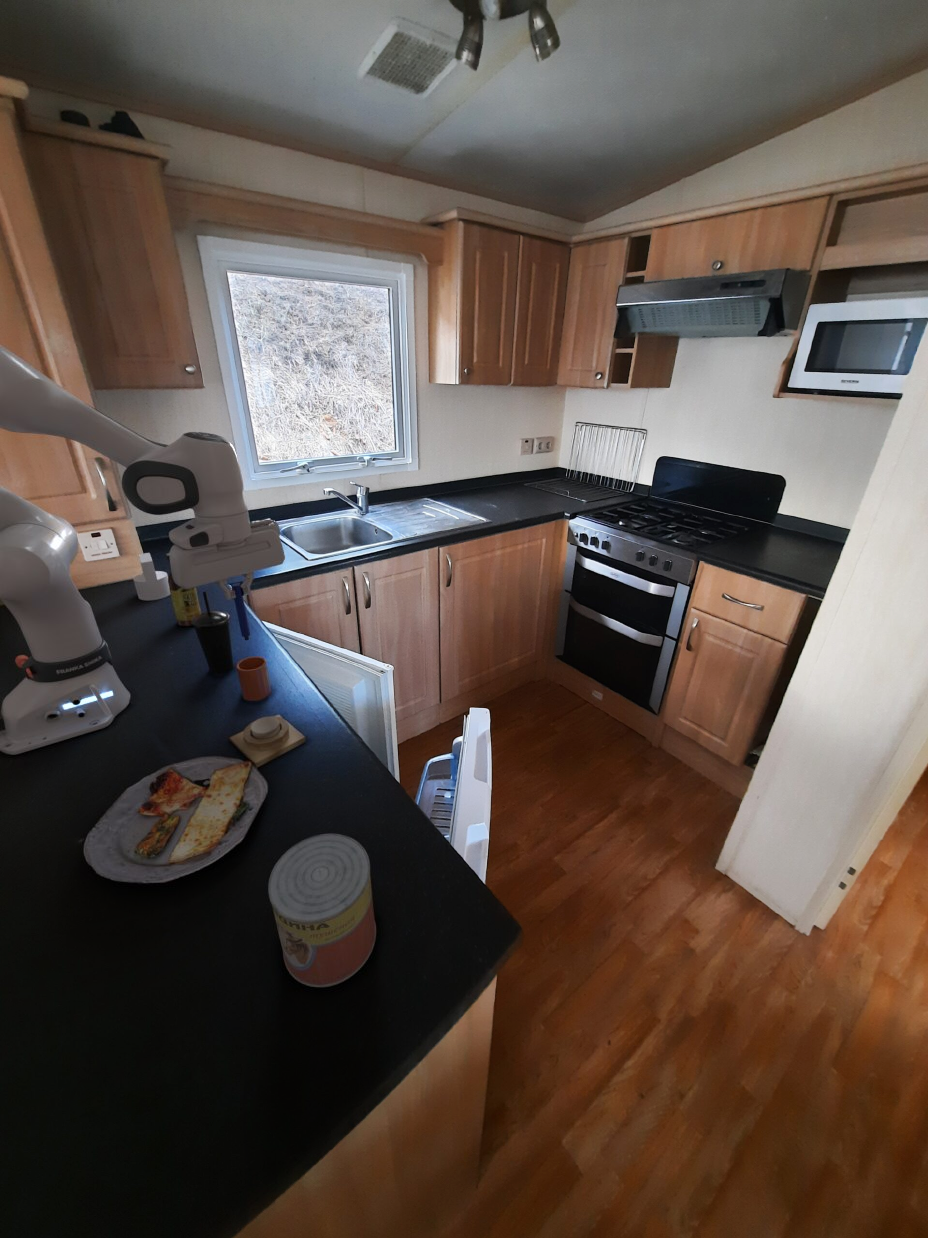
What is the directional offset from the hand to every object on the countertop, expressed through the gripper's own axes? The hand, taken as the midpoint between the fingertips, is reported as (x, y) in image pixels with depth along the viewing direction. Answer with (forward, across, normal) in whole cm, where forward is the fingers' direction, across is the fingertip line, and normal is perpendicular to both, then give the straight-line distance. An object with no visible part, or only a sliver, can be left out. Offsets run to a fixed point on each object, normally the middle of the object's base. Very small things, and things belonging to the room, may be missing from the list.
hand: (238, 596), depth 98 cm
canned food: (+24, +18, +55) cm, 63 cm away
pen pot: (+24, 0, -1) cm, 24 cm away
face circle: (+21, +6, +15) cm, 27 cm away
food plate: (+24, +24, +23) cm, 41 cm away
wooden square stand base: (+24, +6, +15) cm, 29 cm away
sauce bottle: (+24, -4, -47) cm, 53 cm away
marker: (+10, 0, 0) cm, 10 cm away
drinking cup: (+24, +1, -16) cm, 29 cm away
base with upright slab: (+24, -4, -74) cm, 78 cm away
